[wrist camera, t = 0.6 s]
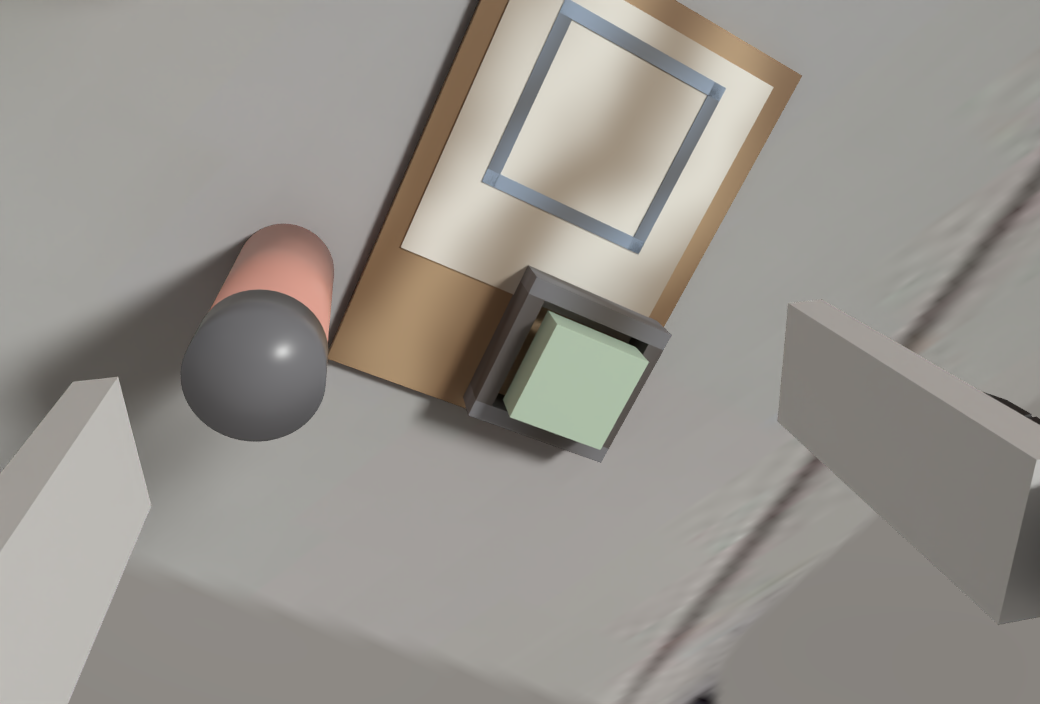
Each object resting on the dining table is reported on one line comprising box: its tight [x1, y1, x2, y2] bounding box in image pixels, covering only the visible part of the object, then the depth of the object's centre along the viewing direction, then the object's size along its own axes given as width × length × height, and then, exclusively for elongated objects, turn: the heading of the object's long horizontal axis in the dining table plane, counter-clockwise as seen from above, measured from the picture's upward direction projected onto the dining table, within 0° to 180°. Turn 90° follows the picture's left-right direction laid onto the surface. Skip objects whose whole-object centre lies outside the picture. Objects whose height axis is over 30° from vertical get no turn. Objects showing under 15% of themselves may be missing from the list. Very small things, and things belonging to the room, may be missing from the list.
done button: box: [503, 311, 649, 450], centre depth 35 cm, size 5×5×2 cm
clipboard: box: [328, 0, 802, 463], centre depth 35 cm, size 14×20×3 cm
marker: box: [181, 224, 334, 441], centre depth 29 cm, size 4×4×12 cm
